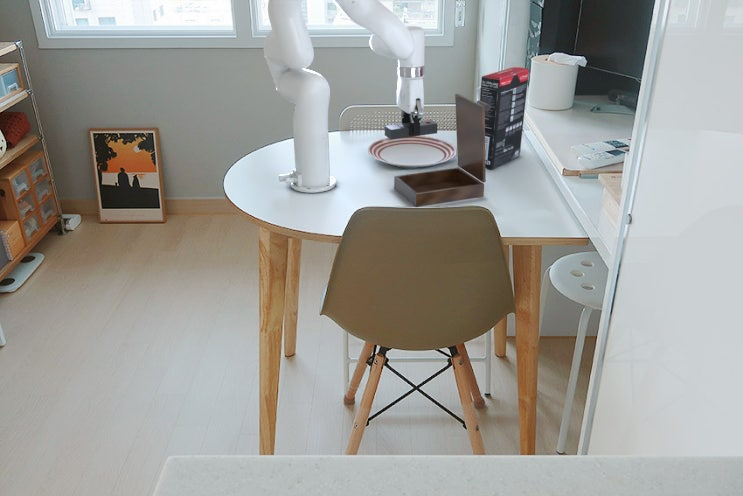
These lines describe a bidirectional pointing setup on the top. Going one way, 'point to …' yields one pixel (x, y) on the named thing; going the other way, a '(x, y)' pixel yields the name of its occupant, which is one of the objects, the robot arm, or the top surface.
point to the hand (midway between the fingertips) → (410, 132)
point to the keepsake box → (438, 186)
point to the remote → (404, 129)
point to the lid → (471, 136)
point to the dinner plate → (412, 151)
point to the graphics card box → (504, 114)
